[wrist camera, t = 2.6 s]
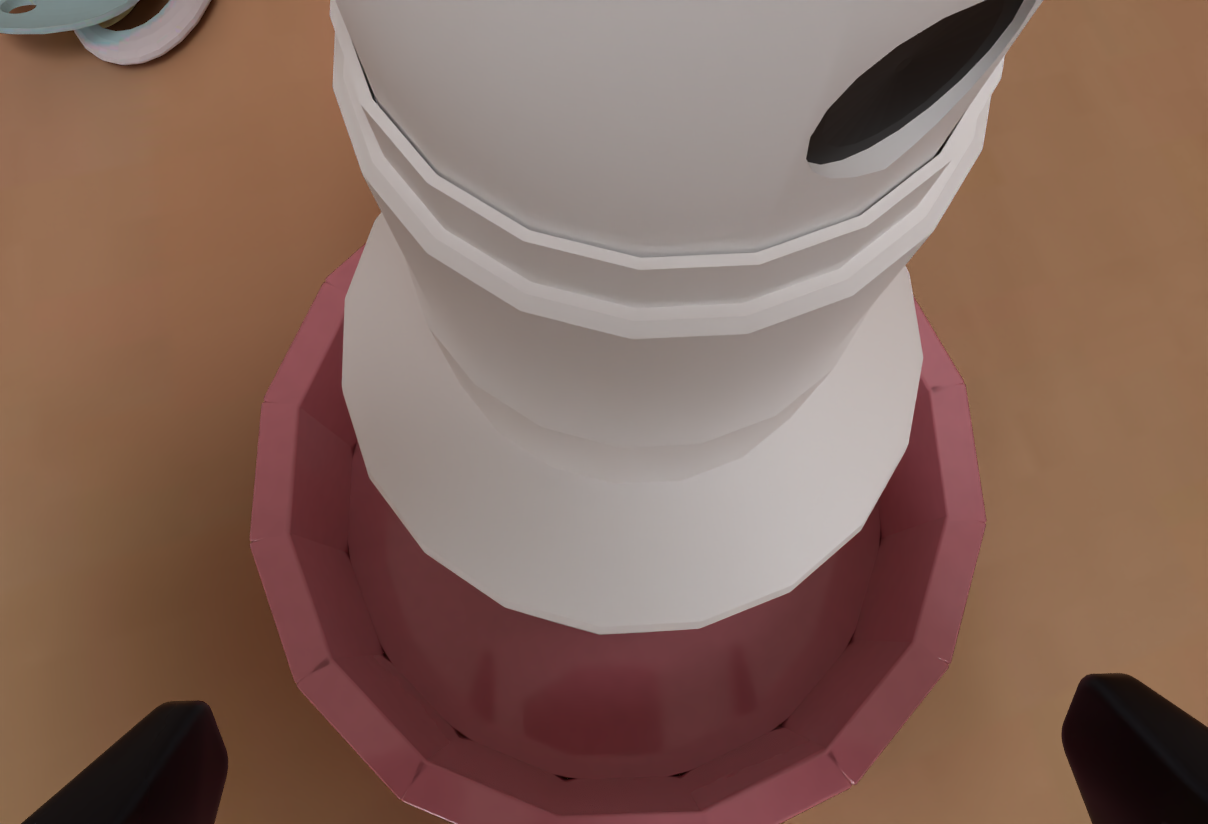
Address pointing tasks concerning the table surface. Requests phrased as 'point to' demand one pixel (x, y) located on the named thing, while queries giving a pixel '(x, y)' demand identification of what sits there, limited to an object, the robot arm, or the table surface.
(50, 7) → the pacifier
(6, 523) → the table surface
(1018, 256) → the table surface
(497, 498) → the spray bottle
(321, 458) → the pot
